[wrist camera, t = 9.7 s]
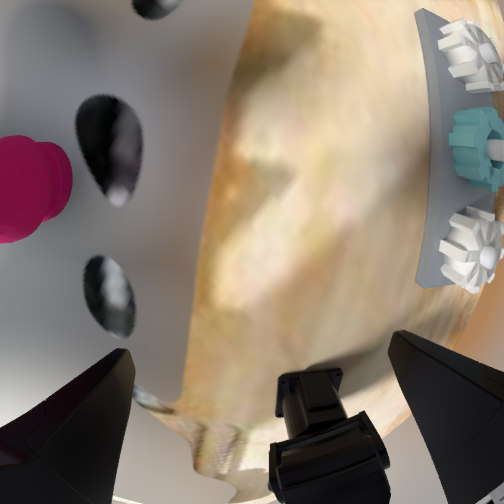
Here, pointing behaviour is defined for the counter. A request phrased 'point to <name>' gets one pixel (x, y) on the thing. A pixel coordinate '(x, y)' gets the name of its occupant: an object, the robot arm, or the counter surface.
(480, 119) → the teal gear
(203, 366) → the counter surface
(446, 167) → the gear board
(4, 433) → the robot arm
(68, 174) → the pepper mill
